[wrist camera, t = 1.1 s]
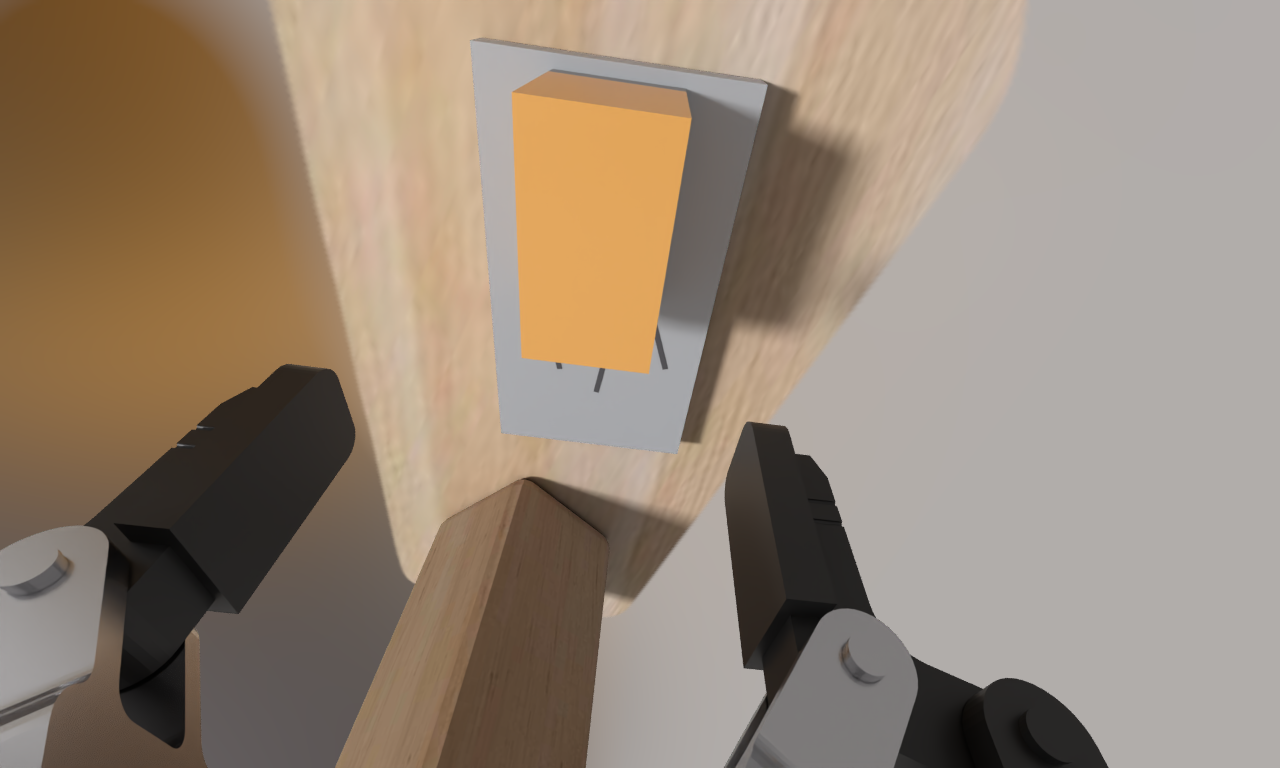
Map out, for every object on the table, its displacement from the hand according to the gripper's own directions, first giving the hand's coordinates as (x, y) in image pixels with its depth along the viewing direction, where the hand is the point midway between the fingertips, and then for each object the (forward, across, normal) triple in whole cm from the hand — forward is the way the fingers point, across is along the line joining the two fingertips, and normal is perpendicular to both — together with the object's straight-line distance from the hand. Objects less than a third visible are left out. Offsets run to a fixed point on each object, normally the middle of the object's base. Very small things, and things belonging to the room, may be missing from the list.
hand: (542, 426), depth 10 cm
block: (+16, +4, +27) cm, 32 cm away
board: (+16, 0, +5) cm, 16 cm away
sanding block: (+14, 0, 0) cm, 14 cm away
